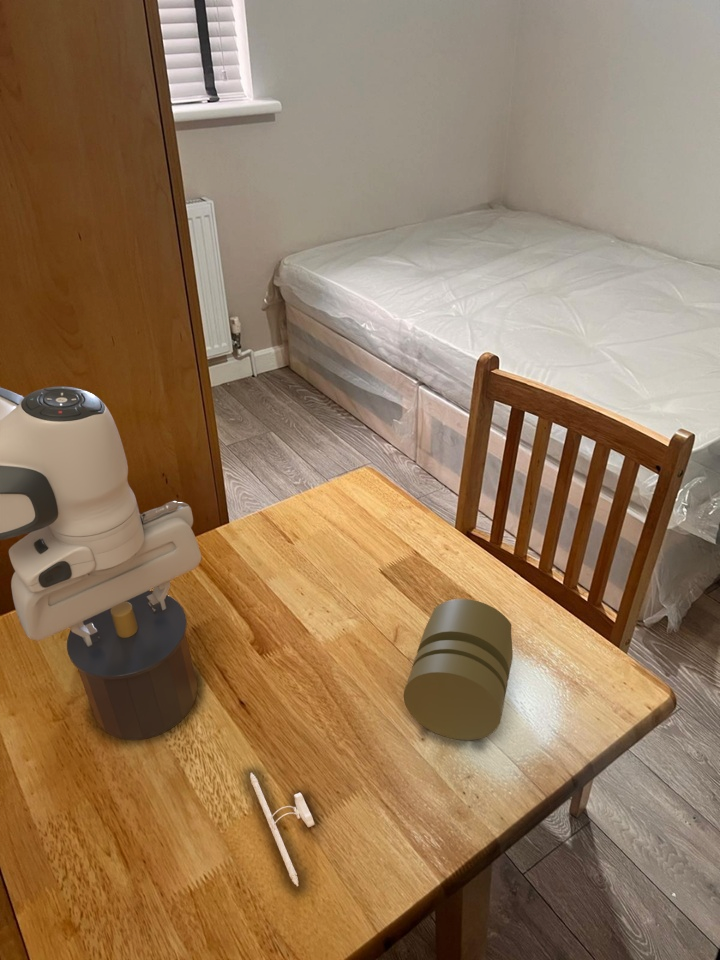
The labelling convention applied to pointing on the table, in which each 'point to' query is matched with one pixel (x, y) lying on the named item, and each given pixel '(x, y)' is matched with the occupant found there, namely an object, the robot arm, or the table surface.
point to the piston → (461, 670)
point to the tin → (144, 698)
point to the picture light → (301, 810)
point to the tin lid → (129, 639)
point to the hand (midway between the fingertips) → (125, 624)
